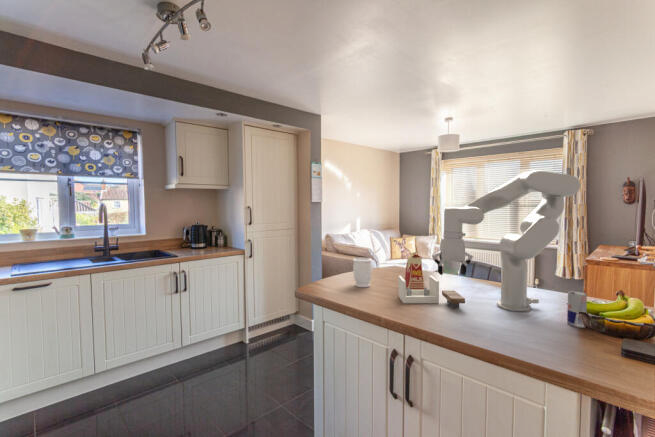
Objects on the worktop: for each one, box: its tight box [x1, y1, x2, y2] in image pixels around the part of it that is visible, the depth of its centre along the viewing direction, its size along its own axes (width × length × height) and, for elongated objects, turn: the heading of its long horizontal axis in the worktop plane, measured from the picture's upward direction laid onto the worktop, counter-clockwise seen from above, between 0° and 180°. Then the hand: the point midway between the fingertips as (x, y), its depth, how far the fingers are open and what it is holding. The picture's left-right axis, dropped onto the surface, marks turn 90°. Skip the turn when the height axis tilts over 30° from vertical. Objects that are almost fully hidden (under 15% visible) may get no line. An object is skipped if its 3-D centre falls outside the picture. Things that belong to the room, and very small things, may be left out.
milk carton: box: [404, 251, 426, 290], centre depth 164 cm, size 9×9×20 cm
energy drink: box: [566, 290, 588, 329], centre depth 112 cm, size 5×5×12 cm
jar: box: [352, 256, 373, 288], centre depth 171 cm, size 11×10×15 cm
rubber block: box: [446, 299, 460, 310], centre depth 136 cm, size 2×8×3 cm, turn 178°
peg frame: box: [397, 275, 440, 304], centre depth 145 cm, size 16×11×10 cm
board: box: [441, 290, 466, 304], centre depth 136 cm, size 12×6×2 cm, turn 178°
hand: (451, 274), depth 135 cm, fingers open, 9 cm apart
